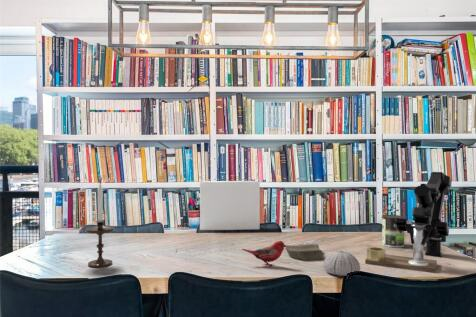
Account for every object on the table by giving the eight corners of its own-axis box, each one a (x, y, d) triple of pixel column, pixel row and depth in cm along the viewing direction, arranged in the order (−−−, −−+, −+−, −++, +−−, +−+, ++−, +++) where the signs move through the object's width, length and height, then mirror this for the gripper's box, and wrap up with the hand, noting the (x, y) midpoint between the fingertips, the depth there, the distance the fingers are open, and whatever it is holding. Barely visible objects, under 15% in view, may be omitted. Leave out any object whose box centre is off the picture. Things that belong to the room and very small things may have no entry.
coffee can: (409, 246, 185) (409, 217, 185) (392, 248, 181) (392, 218, 181) (393, 242, 195) (393, 214, 195) (377, 243, 191) (377, 215, 191)
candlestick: (119, 261, 158) (119, 175, 158) (104, 269, 147) (104, 177, 147) (96, 260, 160) (95, 175, 160) (79, 267, 150) (79, 176, 149)
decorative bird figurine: (286, 267, 150) (286, 241, 150) (241, 265, 153) (241, 240, 152) (286, 265, 153) (286, 240, 152) (242, 263, 155) (242, 238, 155)
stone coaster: (409, 260, 155) (409, 259, 155) (428, 263, 151) (428, 261, 151) (407, 264, 149) (407, 263, 149) (427, 267, 145) (427, 265, 145)
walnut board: (371, 256, 167) (371, 252, 167) (436, 264, 155) (436, 260, 155) (365, 263, 156) (365, 259, 156) (435, 272, 143) (435, 268, 143)
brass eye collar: (369, 256, 162) (369, 246, 162) (386, 258, 158) (386, 248, 158) (365, 259, 156) (365, 249, 156) (383, 261, 153) (383, 251, 153)
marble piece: (318, 251, 177) (318, 242, 177) (330, 260, 162) (330, 250, 162) (282, 252, 174) (282, 243, 174) (291, 261, 160) (291, 251, 160)
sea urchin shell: (318, 268, 149) (318, 247, 149) (352, 267, 151) (352, 246, 151) (330, 279, 136) (330, 256, 136) (367, 278, 137) (367, 255, 137)
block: (200, 230, 225) (200, 182, 225) (199, 227, 233) (199, 181, 233) (259, 229, 229) (259, 181, 229) (257, 226, 237) (257, 180, 237)
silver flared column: (408, 258, 153) (408, 223, 152) (422, 258, 152) (422, 223, 152) (414, 261, 147) (414, 225, 147) (428, 261, 147) (428, 225, 147)
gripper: (396, 197, 159) (387, 228, 150) (447, 201, 147) (441, 234, 138) (402, 214, 165) (394, 245, 156) (451, 219, 153) (445, 252, 145)
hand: (417, 244), depth 149 cm, fingers closed on silver flared column, 4 cm apart
